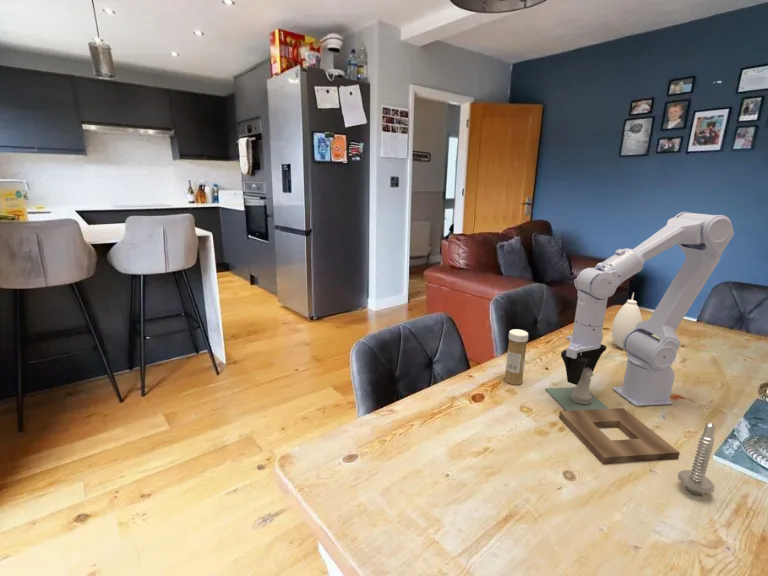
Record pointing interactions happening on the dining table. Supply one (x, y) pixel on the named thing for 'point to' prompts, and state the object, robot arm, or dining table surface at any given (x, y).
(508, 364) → the sprinkles bottle
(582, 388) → the rook chess piece
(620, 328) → the rubber bulb air blower
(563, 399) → the rubber mat
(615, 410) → the socket board
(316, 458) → the dining table surface
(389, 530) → the dining table surface
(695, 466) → the screw
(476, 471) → the dining table surface
